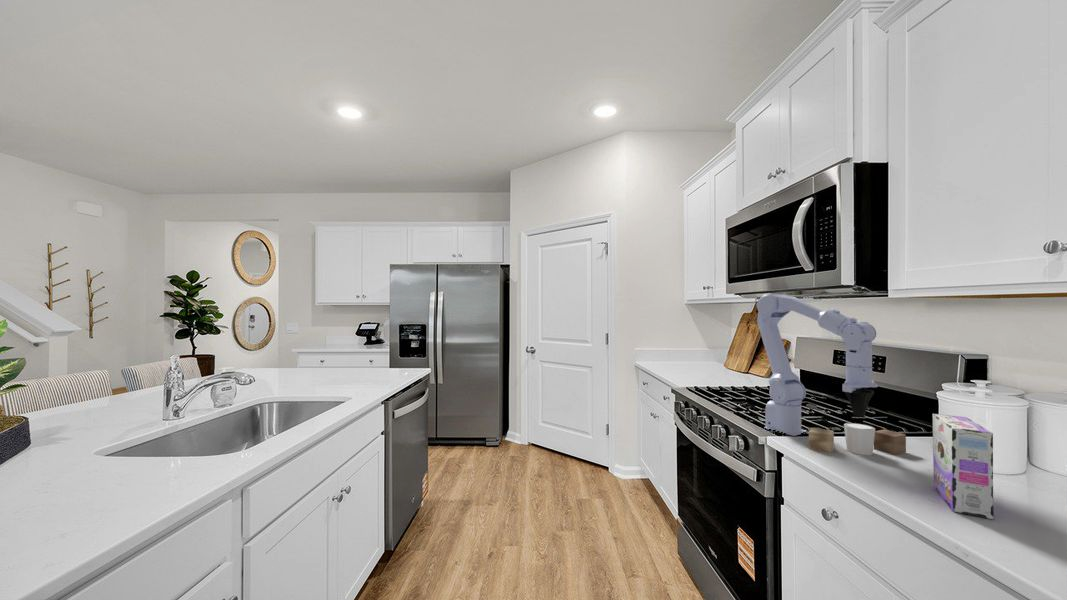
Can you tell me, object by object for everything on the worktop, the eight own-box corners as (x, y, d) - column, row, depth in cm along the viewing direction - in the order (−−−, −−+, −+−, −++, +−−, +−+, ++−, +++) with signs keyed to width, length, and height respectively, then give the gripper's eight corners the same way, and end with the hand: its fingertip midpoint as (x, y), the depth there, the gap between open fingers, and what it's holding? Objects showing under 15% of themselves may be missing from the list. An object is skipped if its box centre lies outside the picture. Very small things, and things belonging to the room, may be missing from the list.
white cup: (882, 456, 111) (882, 429, 111) (856, 456, 111) (856, 429, 111) (862, 447, 118) (862, 422, 118) (837, 447, 118) (837, 422, 118)
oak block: (808, 449, 116) (808, 431, 116) (812, 444, 120) (812, 427, 120) (830, 453, 113) (830, 435, 113) (833, 449, 117) (833, 431, 117)
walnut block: (873, 449, 116) (873, 431, 116) (884, 447, 118) (884, 429, 118) (894, 455, 112) (894, 436, 112) (905, 452, 114) (905, 434, 114)
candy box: (995, 521, 78) (994, 432, 78) (952, 512, 81) (951, 427, 81) (969, 492, 89) (968, 416, 89) (932, 486, 92) (931, 412, 93)
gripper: (864, 370, 107) (864, 422, 107) (887, 366, 115) (888, 415, 115) (833, 366, 113) (833, 416, 113) (857, 363, 121) (857, 409, 121)
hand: (859, 415), depth 114 cm, fingers closed
